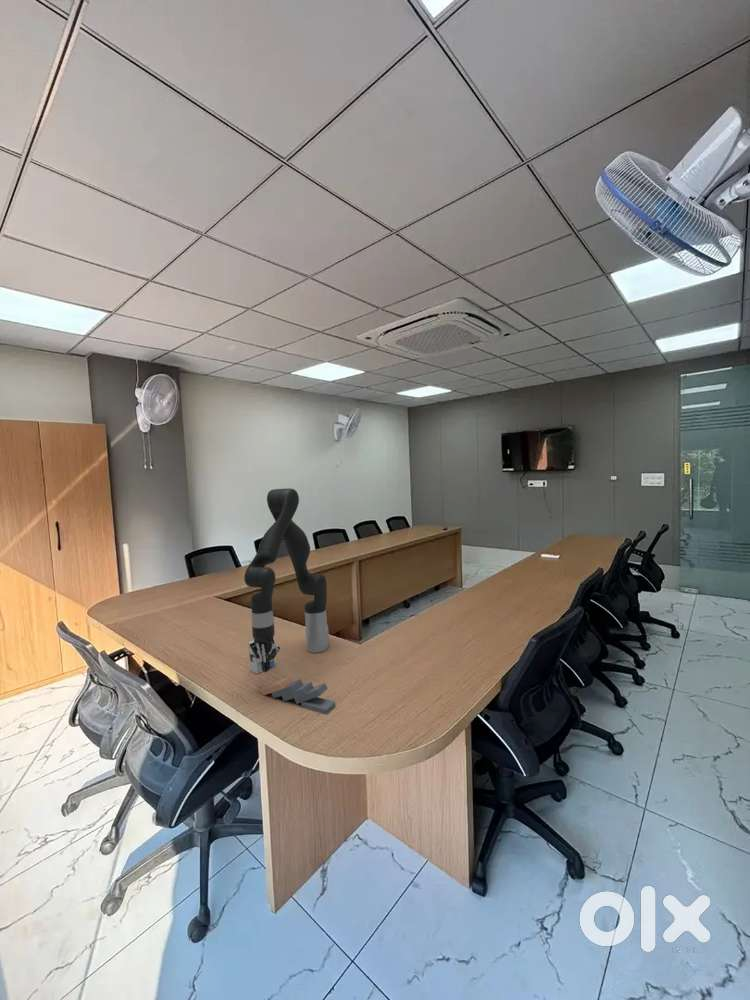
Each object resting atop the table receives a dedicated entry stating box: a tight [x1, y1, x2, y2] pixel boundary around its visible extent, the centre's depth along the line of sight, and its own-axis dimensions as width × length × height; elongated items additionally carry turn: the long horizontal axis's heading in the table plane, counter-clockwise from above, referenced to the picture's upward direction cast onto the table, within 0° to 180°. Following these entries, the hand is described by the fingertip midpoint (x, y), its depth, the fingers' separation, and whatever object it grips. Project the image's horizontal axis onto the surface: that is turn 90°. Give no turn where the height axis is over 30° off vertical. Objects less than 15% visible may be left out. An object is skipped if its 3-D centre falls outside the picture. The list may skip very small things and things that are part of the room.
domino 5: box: [300, 696, 336, 715], centre depth 134 cm, size 2×5×10 cm
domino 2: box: [271, 678, 303, 699], centre depth 140 cm, size 2×5×10 cm
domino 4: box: [293, 682, 328, 705], centre depth 136 cm, size 2×5×10 cm
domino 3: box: [281, 681, 315, 702], centre depth 138 cm, size 2×5×10 cm
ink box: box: [248, 640, 275, 675], centre depth 163 cm, size 8×5×12 cm, turn 141°
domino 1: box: [260, 676, 293, 696], centre depth 143 cm, size 2×5×10 cm
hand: (266, 670), depth 145 cm, fingers closed
